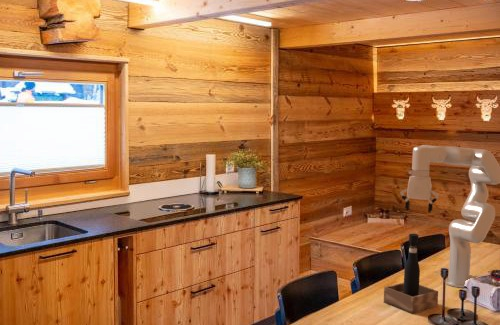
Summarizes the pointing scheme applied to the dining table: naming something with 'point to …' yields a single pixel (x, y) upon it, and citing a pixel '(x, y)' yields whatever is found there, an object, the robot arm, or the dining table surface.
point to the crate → (410, 298)
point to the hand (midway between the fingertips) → (418, 211)
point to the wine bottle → (412, 269)
